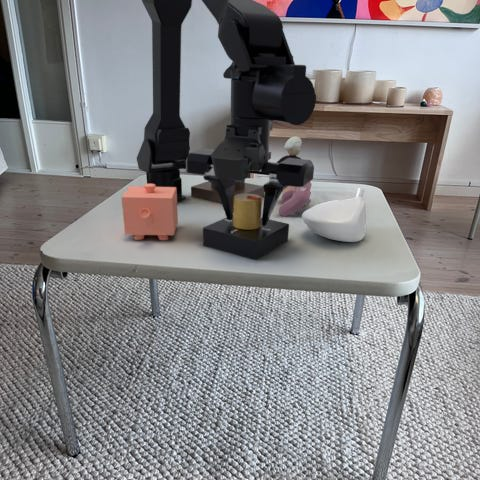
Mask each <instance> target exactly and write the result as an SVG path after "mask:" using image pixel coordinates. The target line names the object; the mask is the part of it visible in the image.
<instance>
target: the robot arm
mask: <svg viewBox="0 0 480 480" xmlns="http://www.w3.org/2000/svg"><path fill="white" fill-rule="evenodd" d="M141 2H142V4H143V6H144V9H145V10H146V12H147V14H148V16H149V18H150V21H151V30H152V31H151V43H152V44H151V45H152V46H151V49H152V50H151V52H152V55H151V56H152V59H151V61H152V114H151V115H150V117H149V119H148V121H147V123H146V124H145V126H144V129H143V130H144V131H143V141H142V143H141V146H140V148H139V151H138V153H137V156H136V162H137V167H138V169H139V170H140V171H142V172H145V174H146V176H145V177H146V184H155V185H156V186H155V187H176V188H177V202H181V201H183V200H186V198H187V197H186V195H184V194H183V186H182V185H183V182H182V181H183V180H182V177H181V171H180V170H185V173H187V174H195V175H201V176H202V175H203V176H202V178H203V180H204V181H206V182H207V181H209V182H210V183H211V184H212V185H213V186H214V187H215V188H216V190H217V192H218V194H219V197H220V200H221V202H222V203H221V205H222V208H223V211H224V214H225V216H226V217H225V218H227V219H228V220H231V219H232V218H233V203H234V190H235V180H237V181H241V180H244V179H245V180H246V179H247V178H248V177H249V174H253V175H254V174H255V175H261V176H268V179H269V180H268V181H267V182H266V183H264V184H263V185H262V186H263V187H264V197H263V198H264V199H263V204H262V212H261V218H262V226H265V225H266V224H267V222H268V220H270V219H271V215H272V213H273V211H274V209H275V206H276V205H277V203H278V200H279V198H280V197H281V196H282V191H283V190H284V189H285V188H287V187H288V186H294V187H303V186H305V185H306V184H307V183H309V182H311V181H313V179H314V175H315V174H314V173H315V165H314V163H313V161H312V159H304V158H301V159H296V158H287V159H286V160H284V161H282V162H280V163H276V162H271V161H270V160H271V159H272V151H270V137H271V135H270V134H271V132H272V131H273V126H274V123H273V122H277V123H281V124H282V123H283V124H287V125H293V126H300V125H302V124H304V123H306V122H307V121H308V120H309V119H310V118H311V117H312V114H313V113H314V110H315V109H316V108H315V107H316V104H317V94H316V90H315V87H314V84H313V82H312V80H311V79H310V78H309V77H308V76H307V65H305V64H295V60H294V55H293V54H292V51H291V49H290V46H289V44H288V40H287V38H286V35H285V32H284V26H283V25H284V24H283V22H282V20H281V17H280V16H279V15H278V14H277V13H275V11H273V10H271V9H270V8H269V7H267V6H266V5H264V4H262V3H260V2H258V1H256V0H201V2H202V3H203V4H204V6H205V7H206V8H207V10H208V11H209V13H210V14H211V15H212V17H213V18H214V19H215V20H216V23H217V25H218V30H217V38H218V41H219V42H220V45H221V46H222V48H223V50H224V52H225V54H226V56H227V57H228V59H229V60H231V61H232V63H231V64H230V65H229V66H228V67H227V68H226V69H225V70H224V72H223V74H222V77H223V78H224V79H228V80H230V123H228V124H226V128H225V135H224V139H223V141H221V142H220V143H219V144H218V145H217V146H216V148H213V149H212V148H204V147H203V148H200V149H197V150H195V151H192V152H190V151H191V146H190V137H191V132H190V129H189V127H186V125H185V123H184V121H183V119H182V117H181V76H182V75H181V74H182V73H181V71H182V70H181V69H182V66H181V65H182V27H183V24H184V22H185V19H186V18H187V16H188V14H189V12H190V11H191V9H192V6H193V0H141ZM272 121H273V122H272ZM204 174H205V175H204Z"/></svg>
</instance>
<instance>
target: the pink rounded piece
mask: <svg viewBox="0 0 480 480" xmlns="http://www.w3.org/2000/svg"><path fill="white" fill-rule="evenodd" d="M312 185H313V183H312V182H311V181H310V182H309V183H307V184H306V185H305V186H303V187H295V191H293V190H290V191H287V192H285V193H284V194H283V195H282V194H281V198H280V202H281V201H282V202H285V203H282V202H281V203H282V204H281V205H280V206H279V208H278V214H279V215H280V216H281V217H288V216H290V215H291V216H292V215H294V214H299V212H300V211H301V210H302V209H303V208H304V207H305V206H306V205H310V204H311V202H312V199H311V195H312V192H311V190H312V189H311V188H312ZM294 192H295V195H294V196H293V197H292V195H293V193H294Z"/></svg>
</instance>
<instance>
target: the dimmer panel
mask: <svg viewBox="0 0 480 480" xmlns="http://www.w3.org/2000/svg"><path fill="white" fill-rule="evenodd" d="M289 230H290V223H286V222H283V221H277V220H273V219H269V220H268V222H267V224H266V225H265V226H262V217H261V226H260V227H259V228H257V229H252V230H244V229H238V228H236V227H234V226H233V218H232V219H231V220H228V219H227V217H225V218H222V219H219V220H217V221H215V222H212V223H211V224H208V225H205V226H203V227H202V246H204V247H207V248H211V249H215V250H217V251H218V250H219V251H222V252H225V253H229V254H233V255H237V256H240V257H243V258H248V259H251V260H256V261H257V260H259V259H262V257H264V256H266V255H267V254H269V253H270V252H272V251H274V250H275V249H277V248H279V247H281V246H282V245H284V244H285V243H288V242H289Z"/></svg>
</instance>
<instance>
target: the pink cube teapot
mask: <svg viewBox="0 0 480 480" xmlns="http://www.w3.org/2000/svg"><path fill="white" fill-rule="evenodd" d="M155 186H156V185H155V184H147V183H145V184H143V185H142V186H133V185H131V186H130V185H129V187H128V188H127V190H126V191H125V192H124V193H123V195H122V196H121V205H122V207H121V208H122V217H123V226H124V235H127V236H128V235H130V236H131V235H132V236H133V235H134V236H133V239H134V240H135V241H140V240H143V239H145V236H157V238H158V240H159V241H167V240H169V236H175V233H176V230H177V226H178V225H179V224H178V223H179V217H178V216H179V215H178V201H177V188H176V187H155Z"/></svg>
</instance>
